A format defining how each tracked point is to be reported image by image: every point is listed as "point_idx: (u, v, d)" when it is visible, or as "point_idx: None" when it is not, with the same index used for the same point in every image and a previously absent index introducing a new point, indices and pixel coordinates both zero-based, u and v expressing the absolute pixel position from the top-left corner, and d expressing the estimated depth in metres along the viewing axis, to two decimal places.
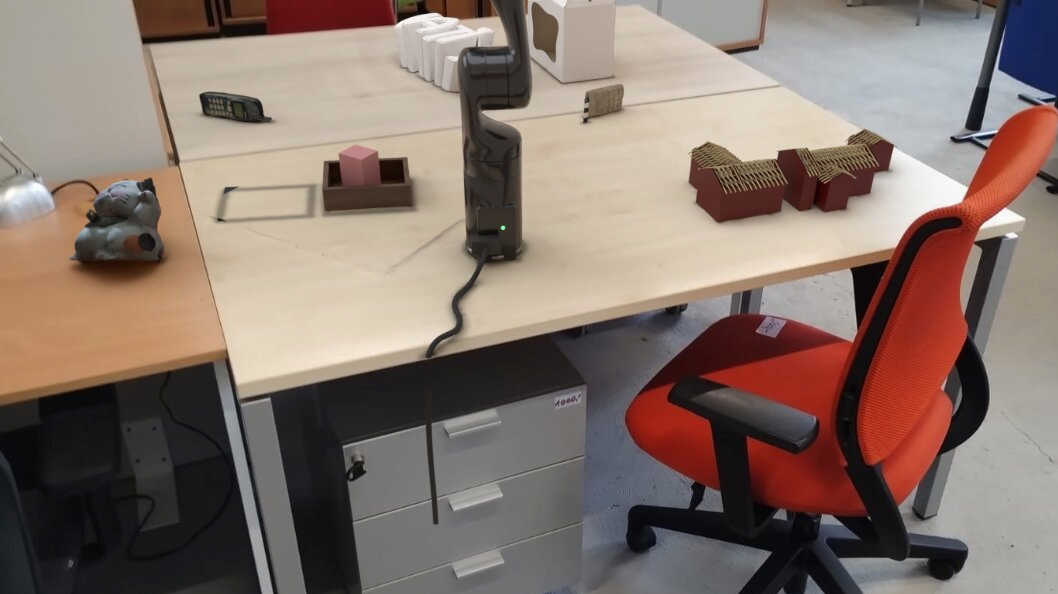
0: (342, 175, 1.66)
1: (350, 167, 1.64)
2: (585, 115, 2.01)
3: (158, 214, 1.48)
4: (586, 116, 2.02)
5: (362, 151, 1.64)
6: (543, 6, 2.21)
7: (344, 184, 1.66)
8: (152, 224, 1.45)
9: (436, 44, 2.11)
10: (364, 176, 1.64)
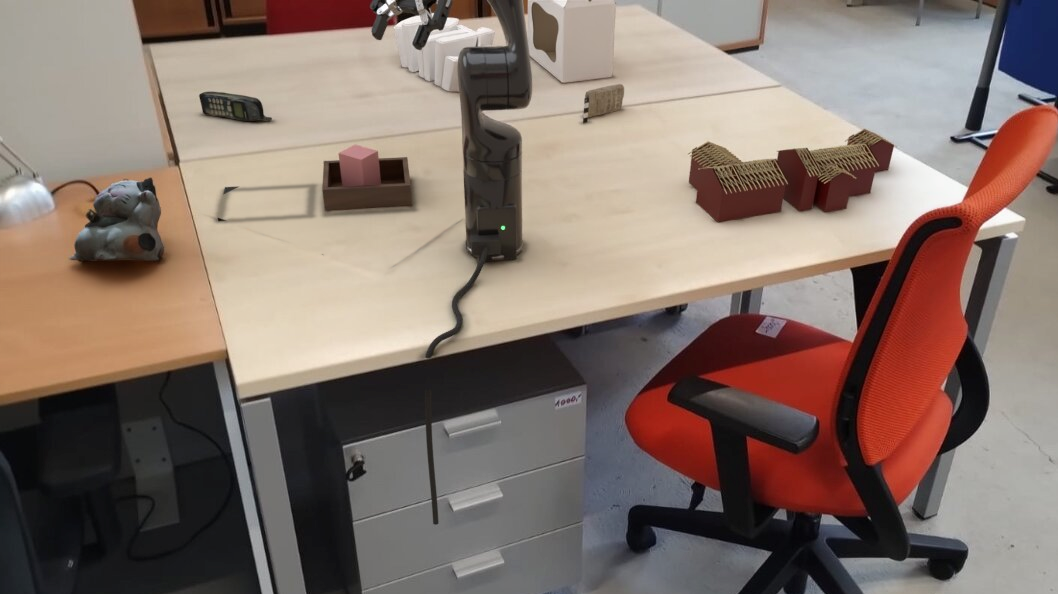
0: (342, 175, 1.66)
1: (350, 167, 1.64)
2: (585, 115, 2.01)
3: (158, 214, 1.48)
4: (586, 116, 2.02)
5: (362, 151, 1.64)
6: (543, 6, 2.21)
7: (344, 184, 1.66)
8: (152, 224, 1.45)
9: (436, 44, 2.11)
10: (364, 176, 1.64)
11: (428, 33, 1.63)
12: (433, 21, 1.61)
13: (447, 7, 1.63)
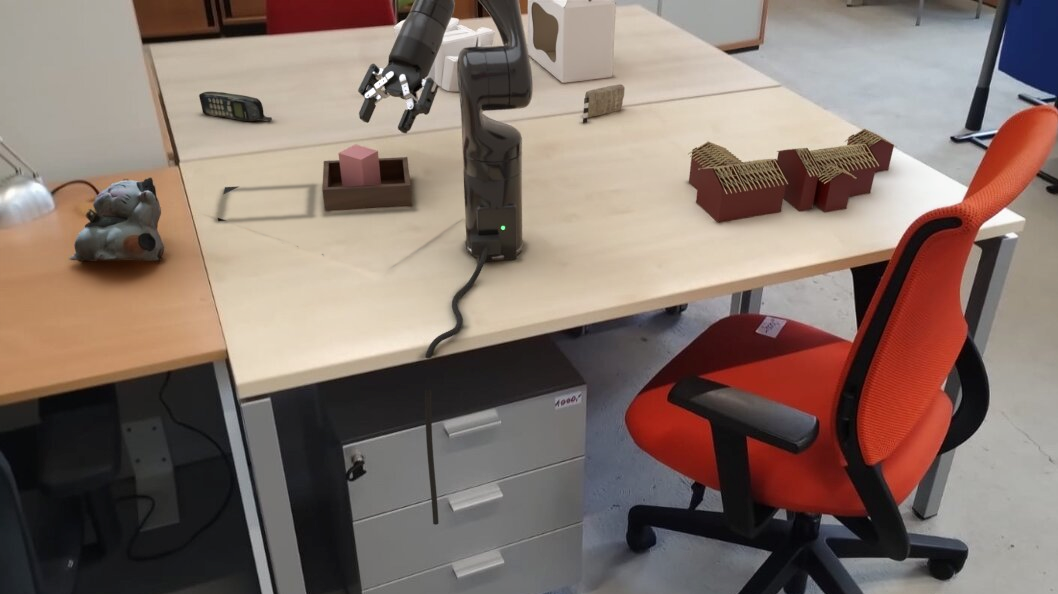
0: (342, 175, 1.66)
1: (350, 167, 1.64)
2: (585, 115, 2.01)
3: (158, 214, 1.48)
4: (586, 116, 2.02)
5: (362, 151, 1.64)
6: (543, 6, 2.21)
7: (344, 184, 1.66)
8: (152, 224, 1.45)
9: None
10: (364, 176, 1.64)
11: (414, 117, 1.67)
12: (418, 106, 1.65)
13: (433, 92, 1.67)
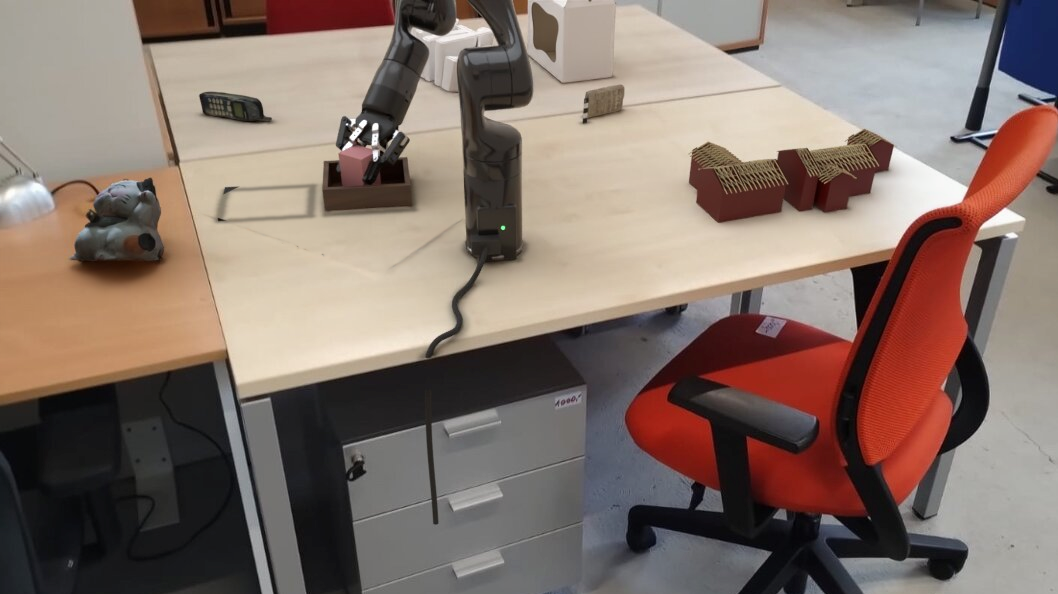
0: (342, 175, 1.66)
1: (350, 167, 1.64)
2: (585, 115, 2.01)
3: (158, 214, 1.48)
4: (586, 116, 2.02)
5: (362, 151, 1.64)
6: (543, 6, 2.21)
7: (344, 184, 1.66)
8: (152, 224, 1.45)
9: (436, 44, 2.11)
10: None
11: (379, 169, 1.65)
12: (383, 158, 1.63)
13: (402, 146, 1.64)
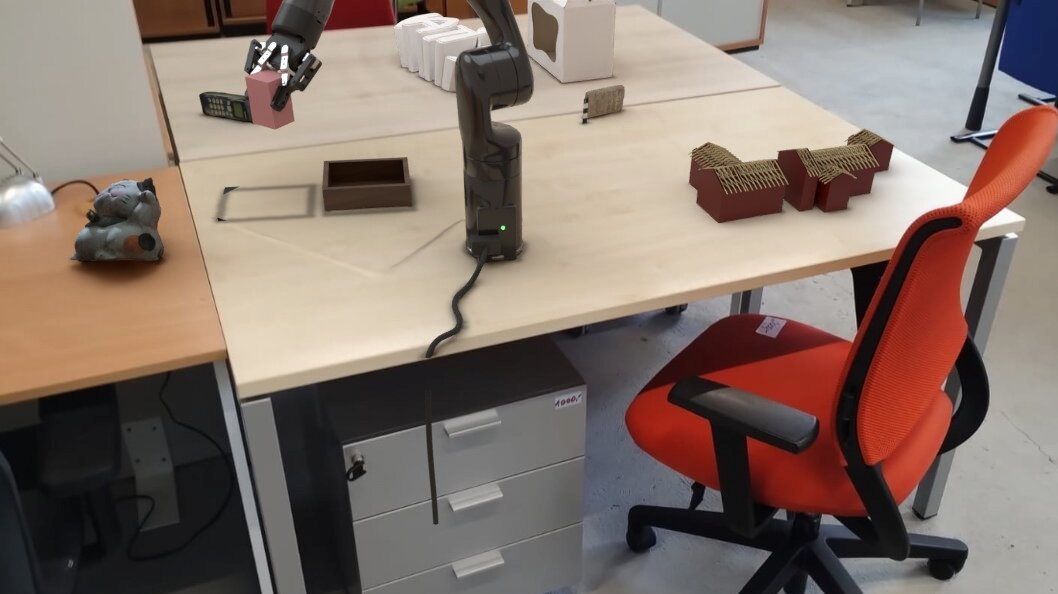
0: (250, 101, 1.55)
1: (257, 91, 1.53)
2: (584, 115, 2.01)
3: (158, 214, 1.48)
4: (586, 116, 2.02)
5: (271, 75, 1.54)
6: (543, 6, 2.21)
7: (253, 111, 1.56)
8: (152, 224, 1.45)
9: (436, 44, 2.11)
10: None
11: (288, 94, 1.54)
12: (292, 82, 1.53)
13: (313, 70, 1.54)
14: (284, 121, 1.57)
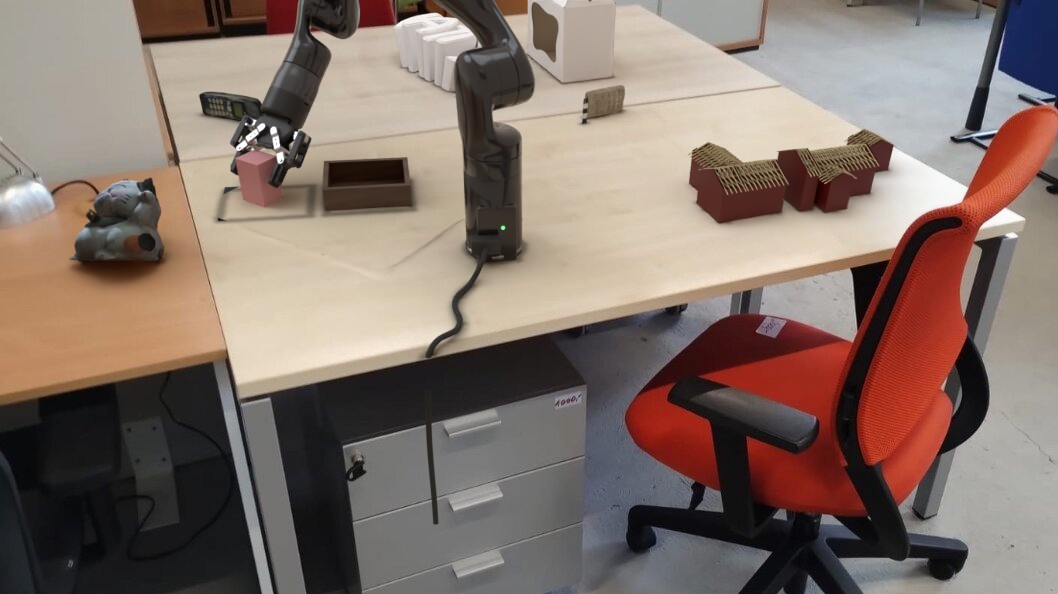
0: (240, 181, 1.62)
1: (247, 172, 1.61)
2: (584, 116, 2.01)
3: (158, 214, 1.48)
4: (586, 116, 2.02)
5: (260, 156, 1.61)
6: (543, 6, 2.21)
7: (243, 190, 1.63)
8: (152, 224, 1.45)
9: (436, 44, 2.11)
10: (261, 181, 1.60)
11: (285, 171, 1.61)
12: (288, 160, 1.59)
13: (305, 145, 1.61)
14: (273, 199, 1.64)
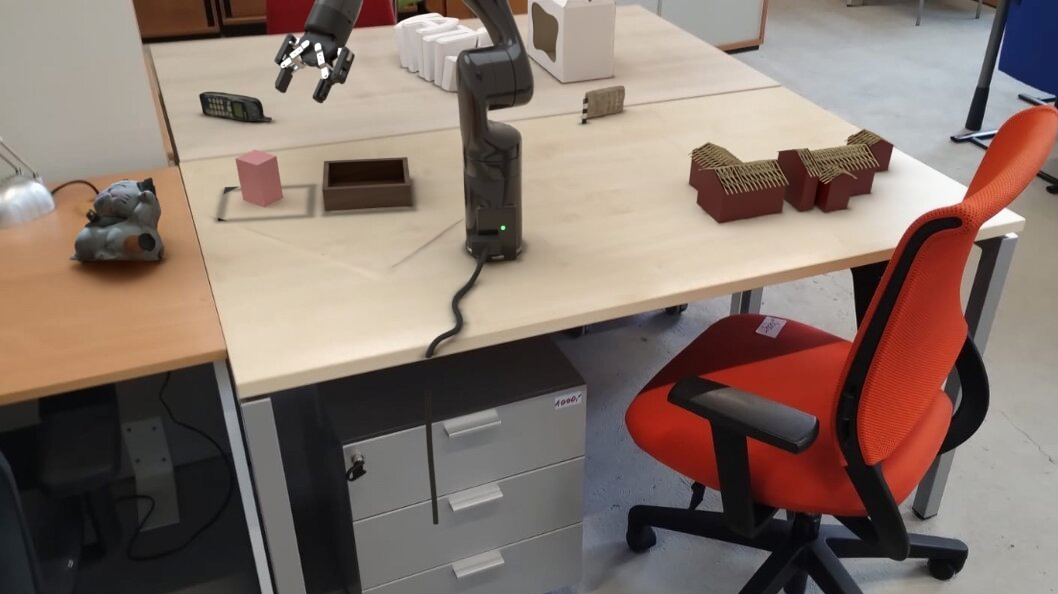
0: (240, 181, 1.62)
1: (247, 172, 1.61)
2: (584, 116, 2.01)
3: (158, 214, 1.48)
4: (585, 117, 2.01)
5: (260, 156, 1.61)
6: (543, 6, 2.21)
7: (243, 190, 1.63)
8: (152, 224, 1.45)
9: (436, 44, 2.11)
10: (261, 181, 1.60)
11: (329, 87, 1.64)
12: (333, 75, 1.62)
13: (348, 61, 1.64)
14: (273, 199, 1.64)
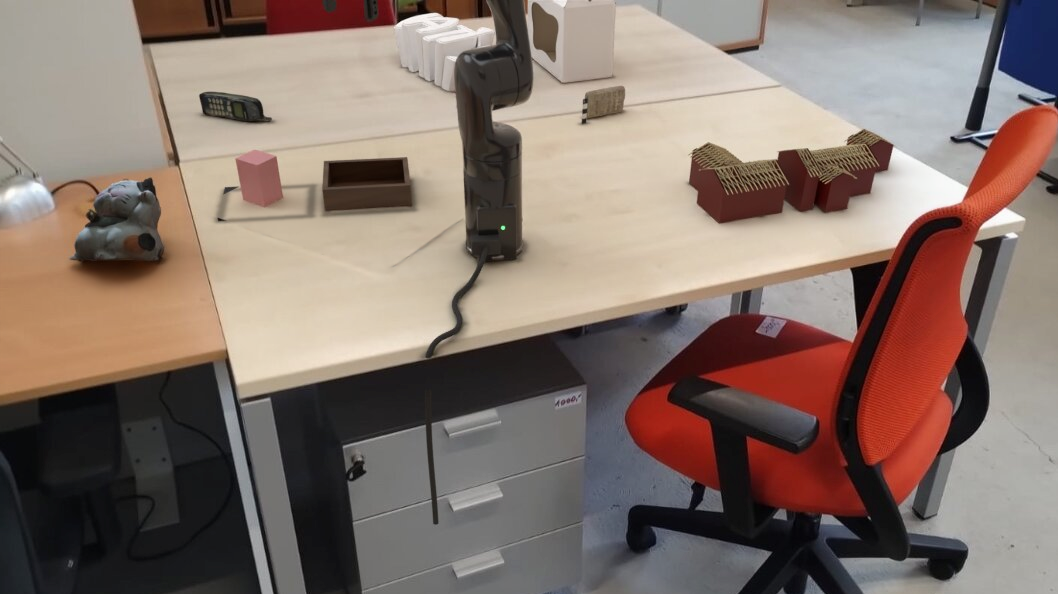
0: (240, 181, 1.62)
1: (247, 172, 1.61)
2: (584, 116, 2.01)
3: (158, 214, 1.48)
4: (585, 117, 2.01)
5: (260, 156, 1.61)
6: (543, 6, 2.21)
7: (243, 190, 1.63)
8: (152, 224, 1.45)
9: (436, 44, 2.11)
10: (261, 181, 1.60)
11: (376, 1, 1.54)
12: None
13: None
14: (273, 199, 1.64)
